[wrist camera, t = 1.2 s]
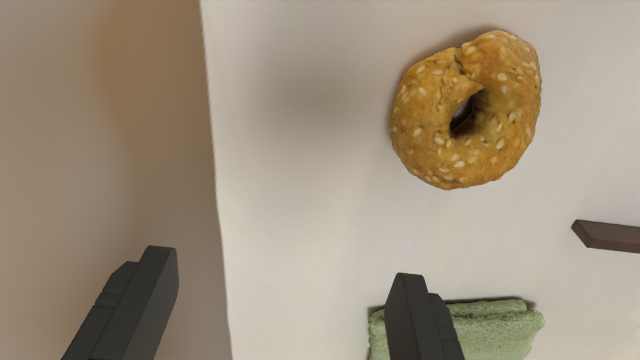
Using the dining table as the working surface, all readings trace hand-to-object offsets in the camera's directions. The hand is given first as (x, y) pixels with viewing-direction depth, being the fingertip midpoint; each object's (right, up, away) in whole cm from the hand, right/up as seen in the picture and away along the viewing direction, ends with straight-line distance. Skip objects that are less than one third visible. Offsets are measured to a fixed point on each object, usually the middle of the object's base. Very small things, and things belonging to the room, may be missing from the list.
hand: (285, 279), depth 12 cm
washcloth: (+15, -14, +31) cm, 38 cm away
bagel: (+11, +9, +16) cm, 21 cm away
